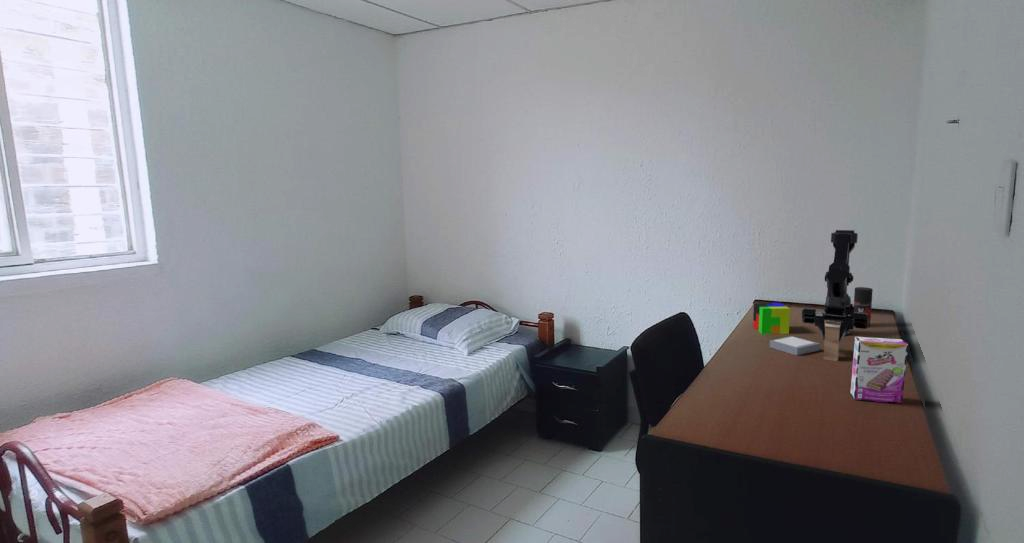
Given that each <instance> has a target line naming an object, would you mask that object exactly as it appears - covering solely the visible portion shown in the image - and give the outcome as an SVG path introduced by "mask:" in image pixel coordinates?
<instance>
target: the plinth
mask: <svg viewBox="0 0 1024 543" xmlns="http://www.w3.org/2000/svg"><path fill="white" fill-rule="evenodd" d="M820 344H821V343H819V342H815V341H812V340H808V339H803V338H800V337H797V336H793V335H791V336H786V337H781V338H776V339H770V340H769V348H770V349H774V350H777V351H780V352H781V351H782V352H784V353H788V354H791V355H794V356H800V355H806V354H809V353H814V352H815V353H816V352H818V351H820V347H821V346H820Z"/></svg>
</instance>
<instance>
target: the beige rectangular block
mask: <svg viewBox="0 0 1024 543" xmlns="http://www.w3.org/2000/svg"><path fill="white" fill-rule="evenodd" d="M824 324H825V340H823V343H824V344H823V357H822V358H823V360H826V361H827V360H828V361H832V362H833V361H835V362H839V361H838V360H839V354H840V353H839V352H840V342H839V335H840V325H841V322H833V321H829V320H825V322H824Z"/></svg>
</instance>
